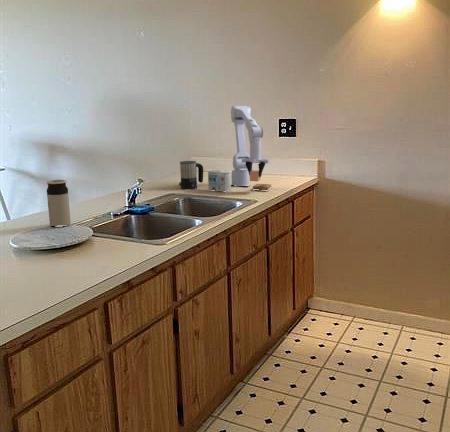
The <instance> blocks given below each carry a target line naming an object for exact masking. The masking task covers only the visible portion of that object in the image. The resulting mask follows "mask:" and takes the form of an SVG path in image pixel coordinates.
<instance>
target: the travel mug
mask: <svg viewBox="0 0 450 432" xmlns="http://www.w3.org/2000/svg"><path fill="white" fill-rule="evenodd" d="M66 183H67V180H66V179H52V180H50V179H49V180H47V181H46V184H47V188H46V197H47V207H48V218H49V226H50V227H51V226H57V225H69V224H70V225H72V224H71V223H72V222H71V221H72V220H71V212H70V200H69V188H68V187H67V184H66ZM70 225H69V226H70Z"/></svg>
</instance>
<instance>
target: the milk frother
mask: <svg viewBox="0 0 450 432" xmlns="http://www.w3.org/2000/svg"><path fill="white" fill-rule="evenodd" d="M179 164H180V165H179V166H180V167H179V168H180V182H179V183H178V185H179V186H180V189H181V190H185V189H191V190H196V189H198V185H197V184H198V183H203V182H204V166H203V164H201V163H199V162H197V161H196V160H184V161H183V160H182V161H179ZM197 169H198V172H197ZM197 173H198V175H197ZM197 176H198V177H197ZM195 188H196V189H195Z"/></svg>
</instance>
